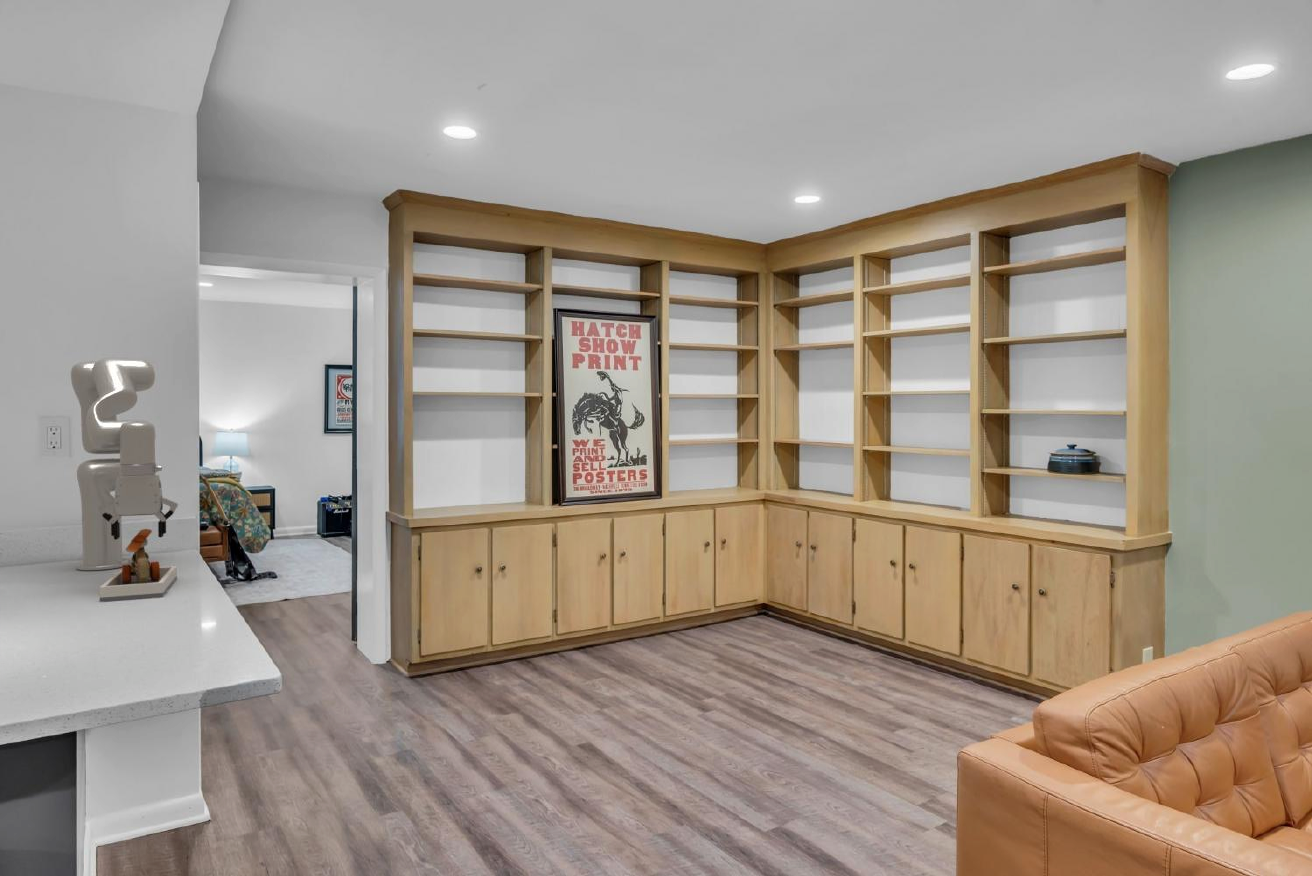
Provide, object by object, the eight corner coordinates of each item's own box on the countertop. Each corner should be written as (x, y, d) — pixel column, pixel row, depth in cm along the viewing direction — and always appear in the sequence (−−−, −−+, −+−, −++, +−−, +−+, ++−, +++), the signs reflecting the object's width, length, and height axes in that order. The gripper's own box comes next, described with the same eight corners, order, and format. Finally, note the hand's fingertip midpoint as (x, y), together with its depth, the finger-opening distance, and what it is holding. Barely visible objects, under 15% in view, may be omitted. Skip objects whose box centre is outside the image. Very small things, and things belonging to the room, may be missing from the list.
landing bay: (120, 583, 214) (120, 570, 214) (176, 579, 220) (176, 566, 219) (99, 601, 193) (99, 587, 193) (162, 596, 198) (162, 582, 198)
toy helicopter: (158, 577, 217) (157, 526, 216) (165, 591, 200) (164, 536, 200) (121, 581, 212) (120, 529, 212) (126, 595, 195) (124, 539, 195)
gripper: (179, 468, 212) (180, 533, 213) (100, 470, 206) (102, 537, 206) (174, 471, 205) (176, 538, 206) (93, 472, 199) (95, 542, 199)
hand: (139, 537), depth 206 cm, fingers open, 9 cm apart
